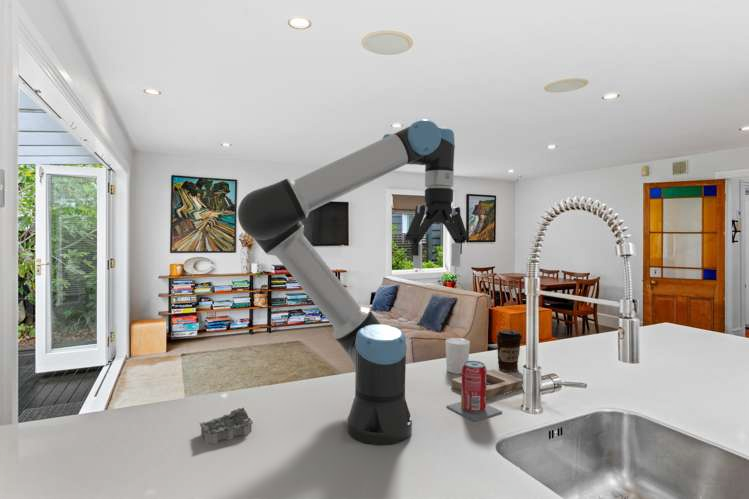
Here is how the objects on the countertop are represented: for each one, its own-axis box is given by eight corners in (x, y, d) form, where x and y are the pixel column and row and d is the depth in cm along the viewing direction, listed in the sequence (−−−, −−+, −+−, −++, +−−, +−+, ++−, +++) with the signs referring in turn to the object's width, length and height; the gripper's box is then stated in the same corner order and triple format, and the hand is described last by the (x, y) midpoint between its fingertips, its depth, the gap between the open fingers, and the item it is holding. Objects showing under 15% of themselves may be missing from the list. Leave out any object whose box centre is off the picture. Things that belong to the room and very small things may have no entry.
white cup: (462, 376, 137) (463, 345, 137) (440, 371, 142) (441, 341, 141) (472, 370, 143) (473, 340, 143) (451, 365, 148) (452, 336, 148)
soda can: (461, 412, 109) (462, 366, 108) (460, 402, 115) (461, 358, 115) (486, 415, 108) (488, 368, 107) (484, 404, 114) (485, 360, 114)
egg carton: (245, 422, 103) (246, 406, 103) (254, 436, 97) (254, 418, 97) (198, 433, 98) (198, 415, 98) (204, 447, 91) (204, 428, 91)
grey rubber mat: (474, 421, 105) (474, 420, 105) (446, 407, 113) (446, 405, 113) (502, 412, 110) (502, 411, 110) (473, 399, 119) (473, 398, 119)
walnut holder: (480, 400, 118) (480, 391, 118) (451, 387, 127) (451, 379, 127) (523, 388, 128) (523, 380, 128) (493, 376, 137) (493, 369, 137)
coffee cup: (524, 374, 140) (526, 335, 139) (499, 373, 140) (500, 334, 140) (516, 365, 149) (517, 328, 148) (492, 365, 149) (493, 328, 148)
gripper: (410, 183, 104) (408, 270, 106) (482, 190, 118) (480, 266, 119) (392, 186, 111) (391, 267, 112) (462, 191, 124) (460, 264, 125)
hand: (437, 267), depth 116 cm, fingers open, 13 cm apart
